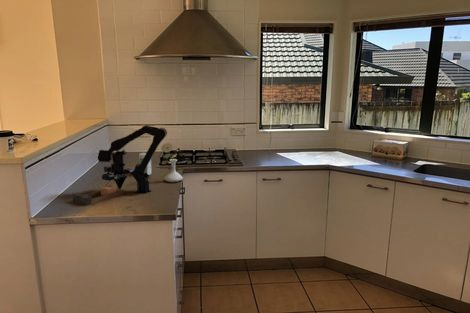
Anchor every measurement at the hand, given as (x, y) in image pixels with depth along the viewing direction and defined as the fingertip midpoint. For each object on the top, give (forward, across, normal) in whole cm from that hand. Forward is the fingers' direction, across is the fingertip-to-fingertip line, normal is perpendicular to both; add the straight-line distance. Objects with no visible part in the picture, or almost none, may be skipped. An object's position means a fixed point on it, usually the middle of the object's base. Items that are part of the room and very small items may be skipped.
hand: (119, 188), depth 201 cm
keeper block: (+2, +7, 0) cm, 8 cm away
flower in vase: (+2, -34, +9) cm, 35 cm away
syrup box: (+2, -36, -17) cm, 39 cm away
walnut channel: (+2, +13, 0) cm, 13 cm away
